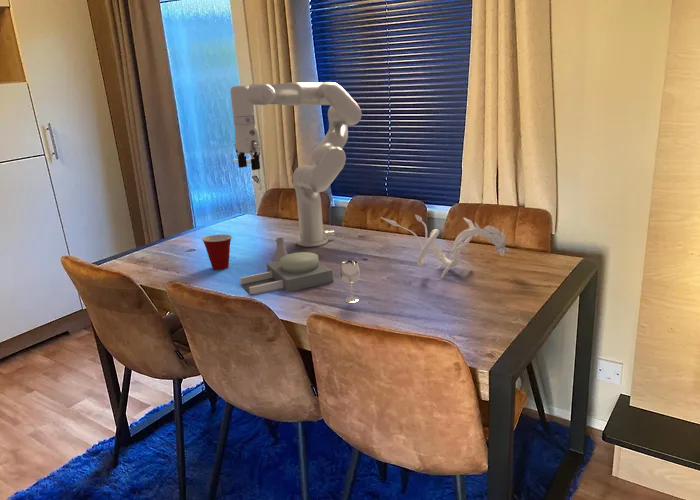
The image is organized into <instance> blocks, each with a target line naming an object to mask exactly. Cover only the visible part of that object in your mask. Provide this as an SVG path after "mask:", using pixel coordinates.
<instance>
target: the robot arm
mask: <svg viewBox="0 0 700 500" xmlns="http://www.w3.org/2000/svg"><path fill="white" fill-rule="evenodd" d="M230 99H231V101H230V102H231V108H232V117H233V125H234V135H235V136H234V137H235V138H234V140H235V143H234V145H233V146H234V148H235V152H236V157H237V161H238V168H239V169H240V168H241V169H242V168H247V167H248V165H247V164H248V163H247V156H246V154H249V155H250V157H251V158H250V165H251V170H252V171H257V170H260V169H261V164H260V157H261V156H260V155H261V149H262V148H261V146H260V145H261V144H260V138H259V133H258V128H257V125H256V119H255V109H254V106H267V105H282V106H291V107H293V106H295V107H296V106H329V108H328V110H327V118H328V131H327V132H326V134H325V136H324V137H323V138H322V140H321V141H320V142H319V144H317V146H316V147H315V148H314V150H313V151H312V153H311V156H310V159H311V160H310V161H311V163H312V165H310V164H303V165H300V166H298V167H297V168H295V169H294V171H293V174H292V181H293V182H292V183H293V187H294V191H295V195H296V197H295V198H296V202H297V215H298V216H297V217H298V225H299V228H298V229H299V236H300V238H298V239H297V241H296V244H297V245H298V246H300V247H306V248H309V247H310V248H311V247H313V248H314V247H319V246H323V245H325V244H327V243H328V241H329V239H328V237H329V236H335V235H336V233H335V230H334V229H333V230H328V229H326V230H325V229H324V222H323V212H322V200H321V194H320V193H322V192H324V191H326V190H328V188H329V187H330V186H331V184H332V183H333V182H334V180H336V178H337V177H338V175H339V174H340V172H341V171H342V170H343V169H344V166H345V165H346V160H347V156H346V152H345V150H344V149H343V148H344V147H345V145H347V142H348V138H349V129H348V128H349V127H348V126H356V125H357V124H358V123H359V122H360V121H361V120H362V115H363V114H362V110H361V109H362V108H360V105H359V104H358V103H357V102H356V101H355V100H354V99H353V98H352V96H351V95H350V94H349V93H348V92H347V91H346V90H345V89H344V88H343V87H342V86H341V85H340V84H338V83H337V82H332V81H325V82H321V81H320V82H318V81H317V82H313V81H310V82H302V81H301V82H298V81H297V82H295V81H294V82H293V81H292V82H284V83H252V84H249V85H246V84H245V85H234V86H231V88H230Z"/></svg>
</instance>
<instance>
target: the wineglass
mask: <svg viewBox="0 0 700 500" xmlns="http://www.w3.org/2000/svg"><path fill="white" fill-rule="evenodd" d="M360 272H361V271H360V266H359V263H358V261H357V260H355V259H354V260H352V259H349V260H344V261H342V262H341V266H340V278H341V280H342V281H343V282H344V283H347V284H349V289H350V290H349V291H350V297H346V298H345V299H344V302H345V303H348V304H353V303H357V302H360V298H359V297H357V296H354V295H353V287H354V286H353V284H354V283H357V282H358V281H359V279H360V276H361V273H360Z"/></svg>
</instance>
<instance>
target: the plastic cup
mask: <svg viewBox="0 0 700 500" xmlns="http://www.w3.org/2000/svg"><path fill="white" fill-rule="evenodd" d="M232 238H233V236H232V235H231V234H224V233H223V234H222V233H221V234H210V235H207V236H203V237H202V238H201V240H202V242H203V244H204V247H205V249H206V252H207V257H208V259H209V262H210V264H211V268H212V269H213V270H214V271H223V270H226V269H228V268H229V265H230V251H231V241H232Z"/></svg>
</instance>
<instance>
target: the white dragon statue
mask: <svg viewBox="0 0 700 500" xmlns="http://www.w3.org/2000/svg"><path fill="white" fill-rule="evenodd" d="M414 217H415V219H416V220H417V222H420V223H422V225H423V226H424V233H425V234H424V235H425V237H424V242H423V243H422V241H421V239H420V237H419V236H418V235H417V234H416V233H415V232H413V230H411V229H409V228H407V227H404V226H401V225H400V224H398V222H396V221H394V220H392V219H388V218H385V217H382V216H379V218H381V219H382V220H383V221H385V222H387V223H389V224H390V225H392V226H393V227H399V228H401V229H404V230H405V231H407V232H410V233H411V234H412V235H413V236H414V237H415V238H416V239H417V241H418V243H419V245H420V253H419V254H418V257H417V261H416V265H417V267H421V268H422V267H423V266H424V264H425V254H426V253H427V251H428V250H429V248H430V247H431V250H432V251H433V253H427V254H426V255H427V256H431V257H435V258H436V259H438V260H439V261H440V262H441V263H442V264H440V265H438V267H435V270H438V269H439V268H441V267H443V266H446V267H445V269H444V270H443V271H442V274H441V276H440V279H443V278H444V276H445V275H446V274H447V273H448V272H449V270H450V269H451V268H454V267H456V266H459V267H461V266H462V265H465V267H466V268H468V270H469V271H472V270H473V269H472V267H471V263H470V262H468V261H466V260H464V259H462V258H461V257H462V256H461V249H462V250H465V251H467V252H469V253H470V252H471V251H470V250H469V248H467V247H466V246H467V245H468V244H469V243H470V241H471V240H472V239H473V237H483V238H487V240H488V242H489V243H491V244H492V245H494V246H495V254H498V253H497V252H499V255H500V257H504V256H505V255H506V253H505V252H509V253H511V252H513V250H512V249H510V248H507V247H506V235H507V233H505V232H504V227H503V228H502V231H500V229H498V228H496V227H494V226H491V225H487V226H484V227H483V228H480V226H479V224H478V223H475V226H474V223H473V221H472V220H471V219H468V218H466V217H464V216H463V220H464V222H466V224H467V225H468V228H467V229H464V230H462V231H461V232H459V234H458V235H457V236H455V240H454V242H453V246H452V249H451V250H450V252H449V253H448V255H449V256H450V257H449V258H448V257H446V254H447V251H445V252H444V251H443V249H442V248H443V247H442V244H440V248H439V245H438V243H437V237H438V236H439V235H440V229H438V228H435V229H431V231H430V234H429V237H428V227H427V224H426V223H425V222H424V221H423V218H422V216H420V215H418V214H415V213H414ZM504 233H505V234H504ZM451 253H452V254H451ZM459 262H460V263H461V264H462V265H461V264H459Z"/></svg>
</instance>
